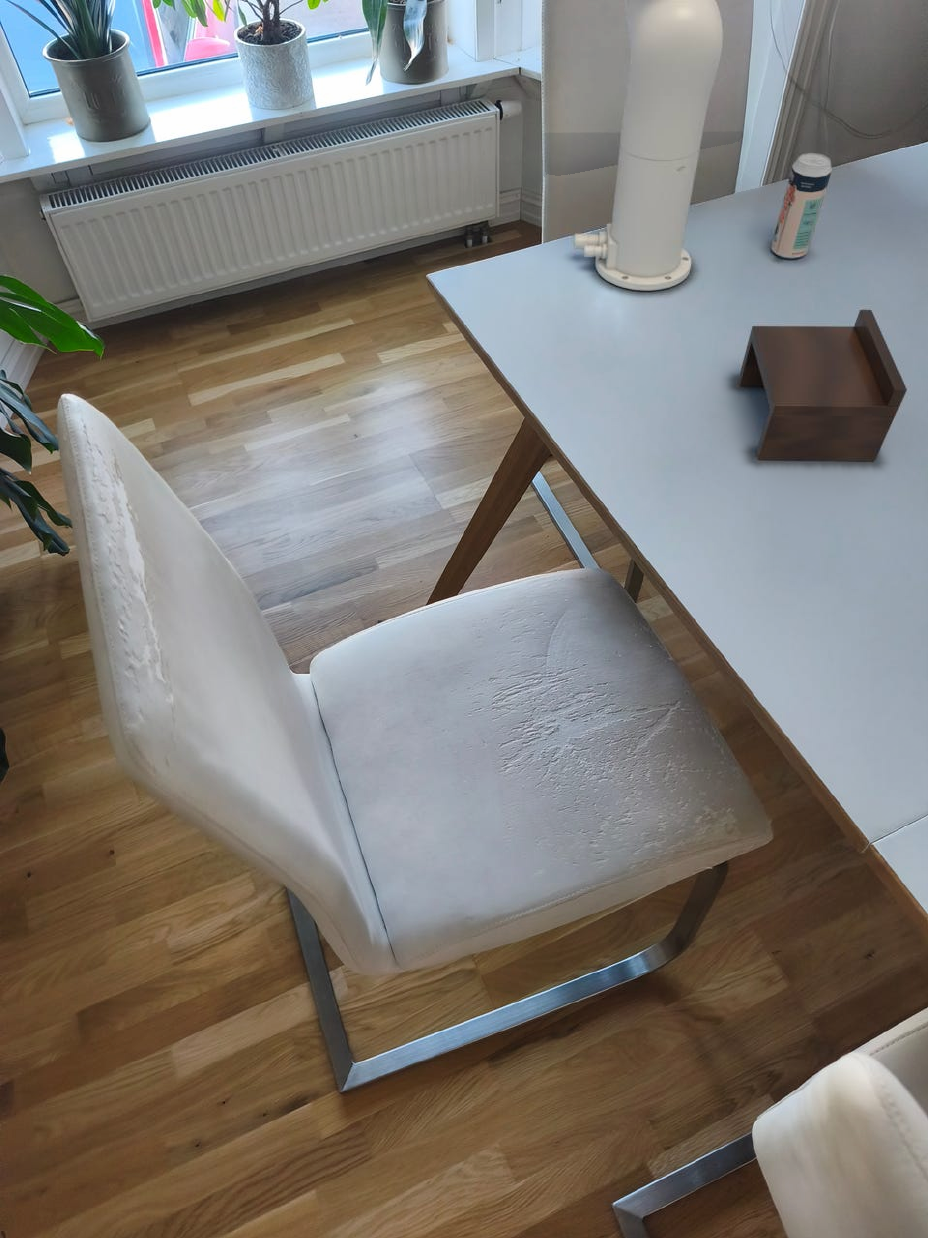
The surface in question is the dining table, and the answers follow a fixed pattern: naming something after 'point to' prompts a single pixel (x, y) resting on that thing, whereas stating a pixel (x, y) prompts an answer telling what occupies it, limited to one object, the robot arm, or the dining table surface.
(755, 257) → the dining table surface
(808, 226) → the beer can
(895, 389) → the shelf
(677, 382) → the dining table surface
